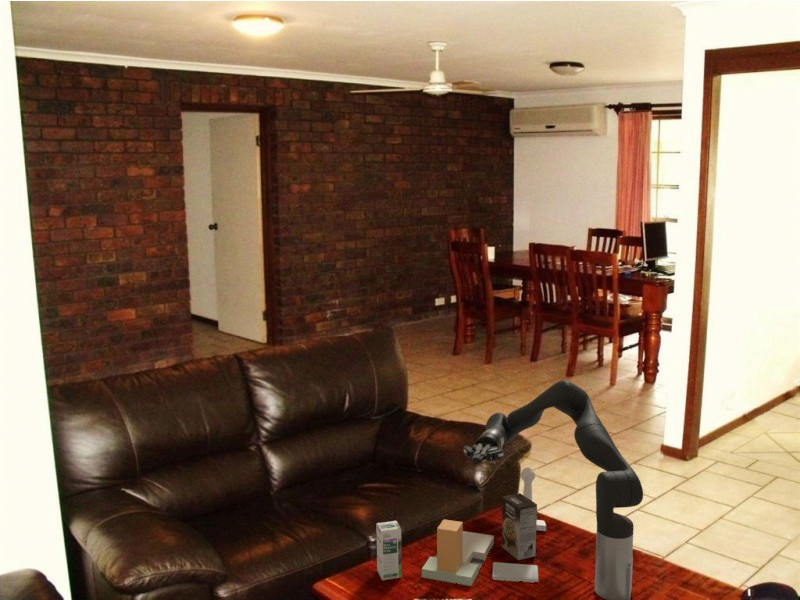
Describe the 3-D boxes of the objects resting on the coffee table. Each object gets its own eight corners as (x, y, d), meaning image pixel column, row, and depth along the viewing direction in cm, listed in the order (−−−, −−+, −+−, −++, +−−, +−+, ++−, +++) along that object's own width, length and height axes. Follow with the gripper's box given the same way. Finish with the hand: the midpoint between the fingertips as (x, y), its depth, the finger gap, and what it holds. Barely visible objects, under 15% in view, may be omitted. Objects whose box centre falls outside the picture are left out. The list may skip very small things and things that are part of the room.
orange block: (462, 562, 216) (462, 522, 214) (456, 572, 211) (456, 531, 209) (443, 559, 218) (443, 519, 216) (437, 569, 213) (437, 528, 211)
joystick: (543, 525, 244) (544, 465, 241) (548, 536, 237) (549, 474, 234) (508, 526, 244) (509, 465, 241) (511, 537, 237) (512, 474, 234)
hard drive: (492, 576, 212) (538, 579, 210) (493, 561, 220) (537, 564, 218) (492, 581, 212) (538, 584, 210) (493, 566, 220) (537, 569, 218)
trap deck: (493, 543, 233) (493, 535, 232) (471, 586, 209) (471, 577, 208) (449, 536, 238) (449, 528, 237) (421, 577, 213) (421, 568, 213)
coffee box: (500, 547, 230) (501, 495, 228) (519, 543, 233) (520, 492, 231) (517, 561, 222) (518, 507, 220) (536, 556, 225) (537, 503, 222)
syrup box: (381, 581, 212) (381, 531, 209) (376, 570, 217) (376, 521, 215) (402, 578, 213) (401, 528, 211) (396, 567, 219) (396, 519, 216)
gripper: (469, 429, 247) (454, 446, 231) (510, 434, 243) (498, 451, 226) (469, 452, 248) (454, 471, 232) (510, 457, 244) (497, 476, 227)
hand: (476, 461), depth 229 cm, fingers closed
